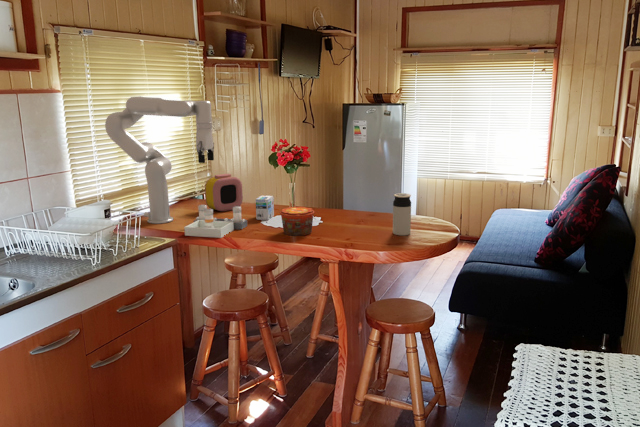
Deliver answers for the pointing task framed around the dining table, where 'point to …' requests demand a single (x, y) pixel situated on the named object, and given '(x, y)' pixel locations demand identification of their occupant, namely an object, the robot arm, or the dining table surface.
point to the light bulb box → (264, 207)
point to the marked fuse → (208, 218)
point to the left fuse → (202, 211)
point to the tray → (209, 229)
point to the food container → (297, 220)
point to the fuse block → (236, 225)
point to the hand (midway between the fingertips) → (206, 161)
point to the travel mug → (401, 214)
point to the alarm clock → (223, 192)
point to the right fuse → (237, 214)
